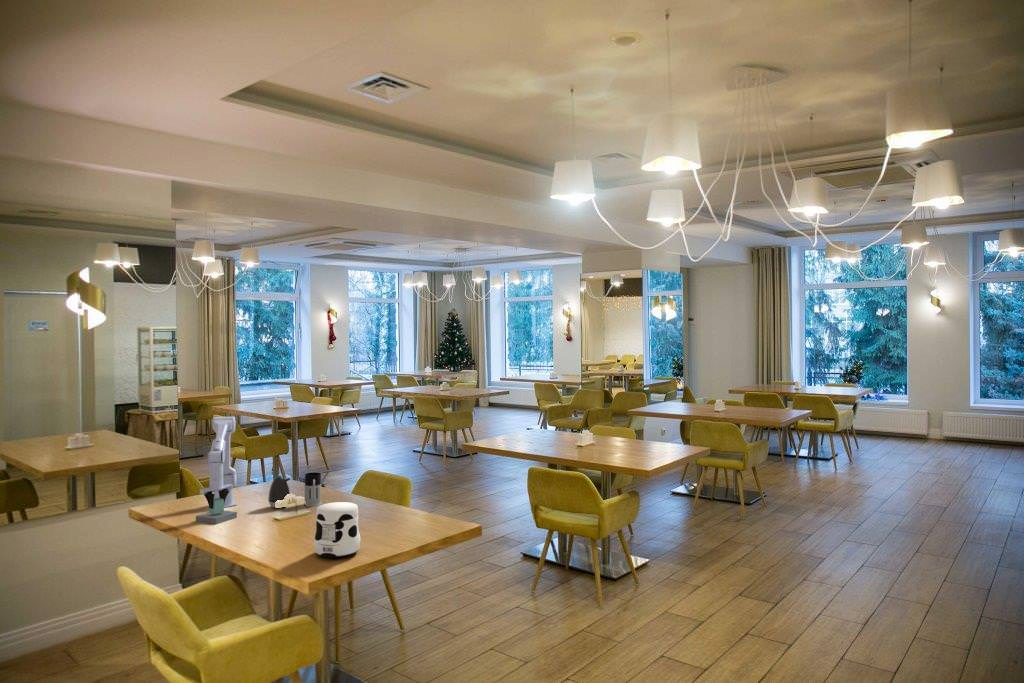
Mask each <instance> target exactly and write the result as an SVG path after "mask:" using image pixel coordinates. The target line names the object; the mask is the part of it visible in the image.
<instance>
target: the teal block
mask: <svg viewBox="0 0 1024 683" xmlns="http://www.w3.org/2000/svg"><path fill="white" fill-rule="evenodd" d="M224 510H225V509H224V499H221V498H215V499H214V500H213V509H210V508H209V507H208V512H209V513H211V514H219V513H224Z"/></svg>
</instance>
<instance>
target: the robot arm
mask: <svg viewBox="0 0 1024 683" xmlns="http://www.w3.org/2000/svg"><path fill="white" fill-rule="evenodd" d="M236 423H237V422H236V417H235V416H234V415H233V416H214V417H212V421H211V425H212V429H213V431H214V433H215V439H213V440H212V442H211V443H212V444H211V447H210V451H209V452H208V453H207V461H208V468H209V487H205V488H200V489H199V494H200V495H203V496H204V497H205V499H206V502H207V505H208V509H209V508H210V509H213V500H214V499H215V498H221V499H224V508H228V507H234V506H238V503H234V487H236V486H237V481H238V479H237V478H238V477H237V476H238V475H237V470H236V469H235V468H233V467H232V466H231V436H232V434H234V433H235V432H236Z"/></svg>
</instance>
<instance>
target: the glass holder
mask: <svg viewBox="0 0 1024 683" xmlns="http://www.w3.org/2000/svg"><path fill="white" fill-rule="evenodd" d="M305 501H306V505H307V506H306V507H308V508H309V506H311V507H312V506H313V507H318V506H320V505H321V504H322V505H323V502H322V473H321V472H317V471H316V472H315V471H314V472H307V473H305V474H304V502H305ZM311 507H310V508H311Z"/></svg>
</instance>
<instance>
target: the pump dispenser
mask: <svg viewBox="0 0 1024 683" xmlns="http://www.w3.org/2000/svg"><path fill="white" fill-rule="evenodd" d="M288 481H291V477H288V478H285V476H282V475H277V476H276V477H274V479H273V480H272V483H271V484H270V487H269V493H268V502H269V505H270V507H271V508H273V509H275V508H274V507H275V502H276V501H277V500H283V499H284V497H285V496H286V495H287V494H290V495H291V491H290V487H289V486H290V485H289V483H288Z"/></svg>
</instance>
